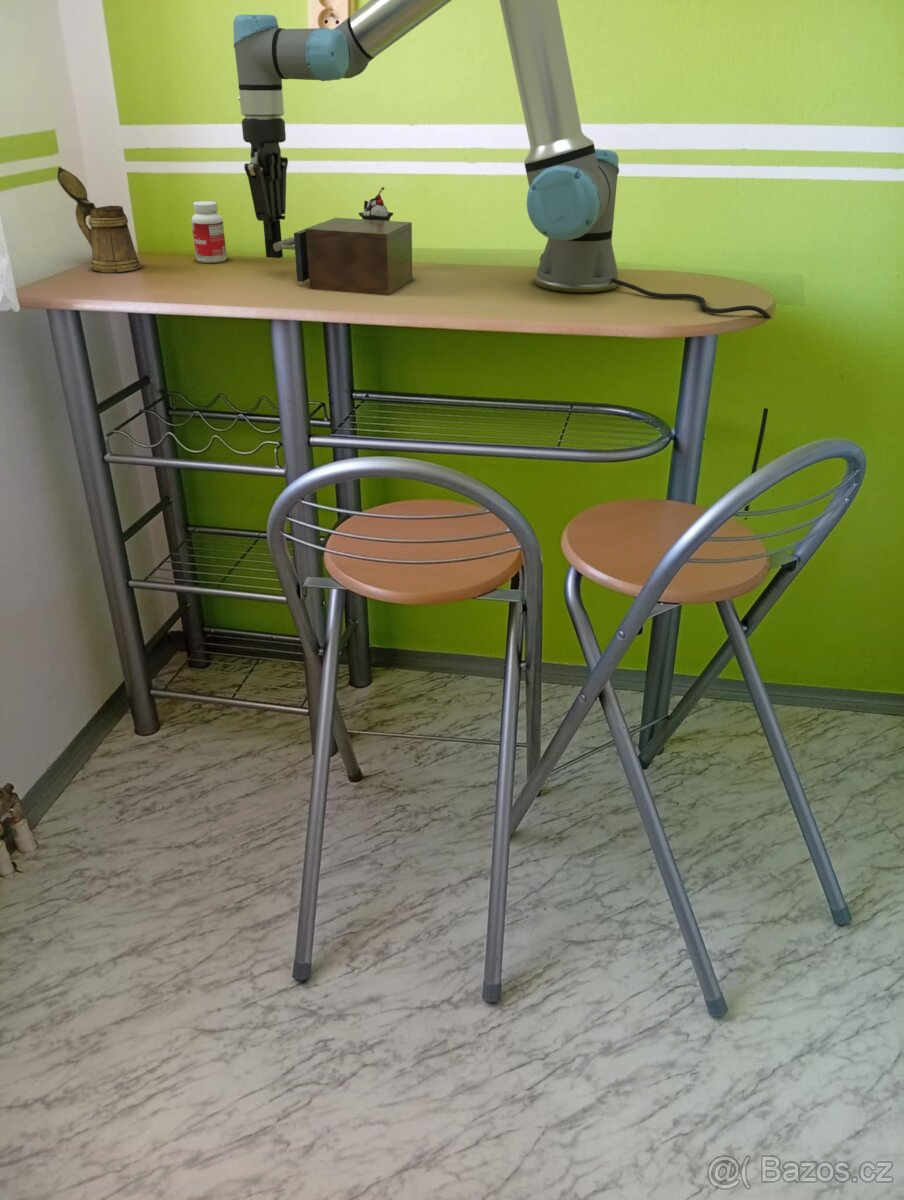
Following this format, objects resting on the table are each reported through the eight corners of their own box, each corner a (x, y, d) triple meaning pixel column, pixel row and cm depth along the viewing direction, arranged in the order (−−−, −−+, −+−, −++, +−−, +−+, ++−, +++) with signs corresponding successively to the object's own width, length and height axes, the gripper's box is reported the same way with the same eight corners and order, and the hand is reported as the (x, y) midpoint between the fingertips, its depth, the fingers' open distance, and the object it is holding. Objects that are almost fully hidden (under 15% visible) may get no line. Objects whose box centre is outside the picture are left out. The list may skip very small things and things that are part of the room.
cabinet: (309, 288, 173) (305, 228, 167) (338, 274, 184) (335, 217, 178) (388, 295, 169) (386, 234, 164) (412, 279, 180) (411, 222, 175)
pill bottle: (191, 260, 194) (183, 202, 188) (218, 256, 197) (212, 199, 192) (205, 264, 190) (197, 205, 184) (232, 261, 193) (226, 203, 188)
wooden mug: (88, 261, 192) (71, 164, 183) (148, 265, 189) (134, 166, 180) (63, 270, 185) (43, 169, 175) (125, 274, 182) (108, 172, 173)
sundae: (393, 271, 186) (391, 188, 179) (359, 270, 186) (355, 188, 179) (395, 264, 192) (393, 184, 184) (362, 264, 192) (359, 183, 185)
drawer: (268, 279, 175) (264, 231, 171) (296, 266, 185) (293, 220, 180) (368, 287, 170) (367, 237, 166) (392, 273, 180) (391, 226, 176)
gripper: (260, 114, 173) (272, 249, 185) (225, 119, 162) (240, 262, 174) (298, 115, 171) (307, 252, 183) (265, 120, 160) (277, 265, 172)
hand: (274, 256), depth 179 cm, fingers closed
